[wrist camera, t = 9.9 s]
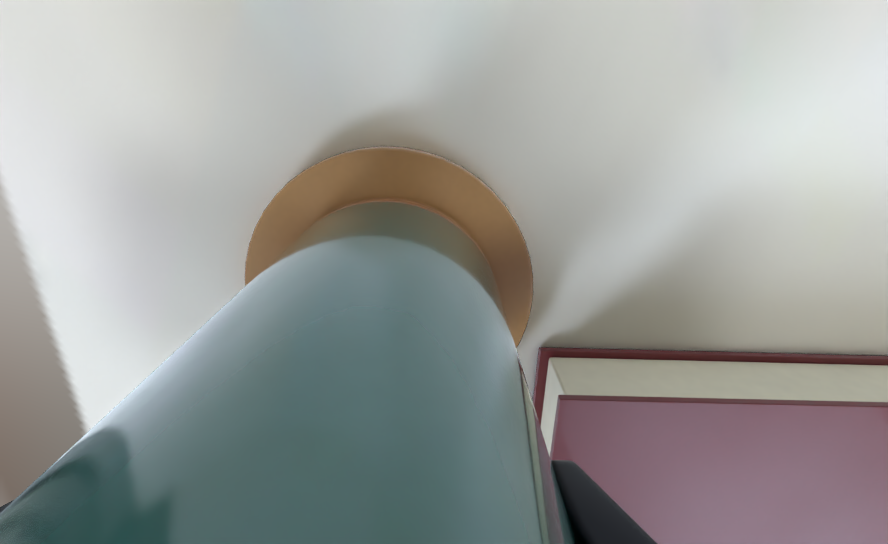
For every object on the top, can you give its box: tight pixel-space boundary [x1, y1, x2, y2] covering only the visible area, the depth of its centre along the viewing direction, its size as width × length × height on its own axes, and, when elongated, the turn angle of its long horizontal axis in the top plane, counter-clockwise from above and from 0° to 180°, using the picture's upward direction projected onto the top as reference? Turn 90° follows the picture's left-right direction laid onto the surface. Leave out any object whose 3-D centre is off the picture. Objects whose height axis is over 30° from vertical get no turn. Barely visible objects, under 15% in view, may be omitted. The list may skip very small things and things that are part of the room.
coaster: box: [245, 146, 533, 348], centre depth 15 cm, size 9×9×1 cm
